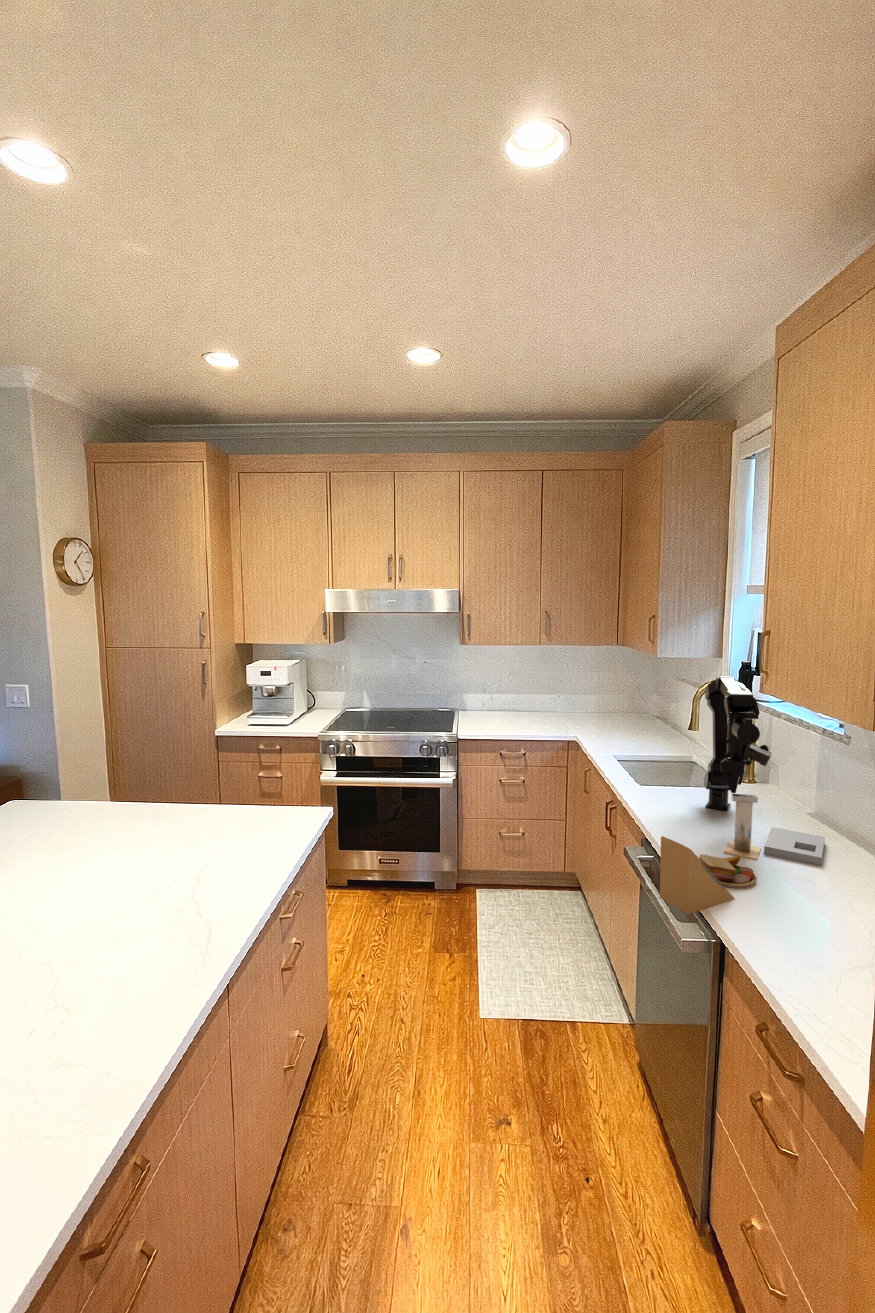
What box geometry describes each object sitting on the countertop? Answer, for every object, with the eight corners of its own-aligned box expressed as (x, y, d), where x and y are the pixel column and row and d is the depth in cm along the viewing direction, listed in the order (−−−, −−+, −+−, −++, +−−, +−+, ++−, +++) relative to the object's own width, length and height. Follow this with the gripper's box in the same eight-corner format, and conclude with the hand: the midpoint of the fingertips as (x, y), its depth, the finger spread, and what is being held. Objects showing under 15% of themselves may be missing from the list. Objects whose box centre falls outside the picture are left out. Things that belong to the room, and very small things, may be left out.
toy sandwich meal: (762, 892, 142) (763, 873, 142) (700, 886, 145) (701, 867, 145) (748, 869, 154) (749, 851, 154) (691, 864, 158) (692, 846, 157)
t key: (728, 845, 167) (730, 792, 166) (752, 847, 166) (755, 794, 164) (731, 851, 163) (733, 797, 162) (756, 853, 162) (758, 798, 160)
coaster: (728, 842, 170) (728, 841, 170) (761, 849, 165) (761, 847, 165) (723, 852, 163) (723, 851, 163) (756, 859, 159) (756, 858, 159)
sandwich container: (737, 899, 139) (740, 836, 138) (688, 915, 132) (691, 849, 131) (706, 883, 147) (708, 823, 145) (658, 898, 140) (660, 835, 139)
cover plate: (771, 833, 176) (771, 827, 176) (824, 843, 168) (824, 836, 168) (763, 853, 163) (764, 846, 163) (821, 865, 155) (821, 857, 155)
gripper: (765, 746, 162) (763, 803, 164) (774, 732, 177) (771, 785, 179) (720, 740, 168) (718, 795, 170) (732, 728, 184) (730, 778, 185)
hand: (736, 788), depth 176 cm, fingers open, 9 cm apart
